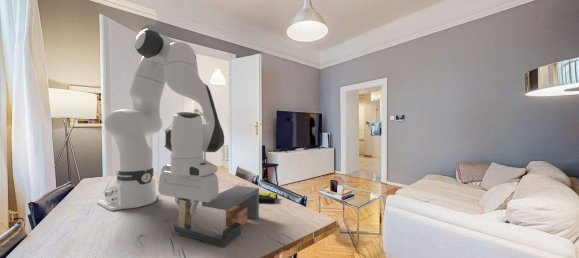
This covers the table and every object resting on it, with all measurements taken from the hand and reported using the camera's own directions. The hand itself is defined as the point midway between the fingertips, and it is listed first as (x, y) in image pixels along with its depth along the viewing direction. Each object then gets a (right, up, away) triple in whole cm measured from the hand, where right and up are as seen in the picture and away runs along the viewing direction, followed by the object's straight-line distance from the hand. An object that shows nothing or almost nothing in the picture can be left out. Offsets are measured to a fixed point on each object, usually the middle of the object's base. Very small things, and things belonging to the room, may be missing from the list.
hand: (187, 212), depth 63 cm
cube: (+13, -7, +7) cm, 16 cm away
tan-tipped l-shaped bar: (+6, -6, 0) cm, 9 cm away
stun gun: (+15, -7, +27) cm, 32 cm away
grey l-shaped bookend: (+12, -7, +6) cm, 15 cm away
